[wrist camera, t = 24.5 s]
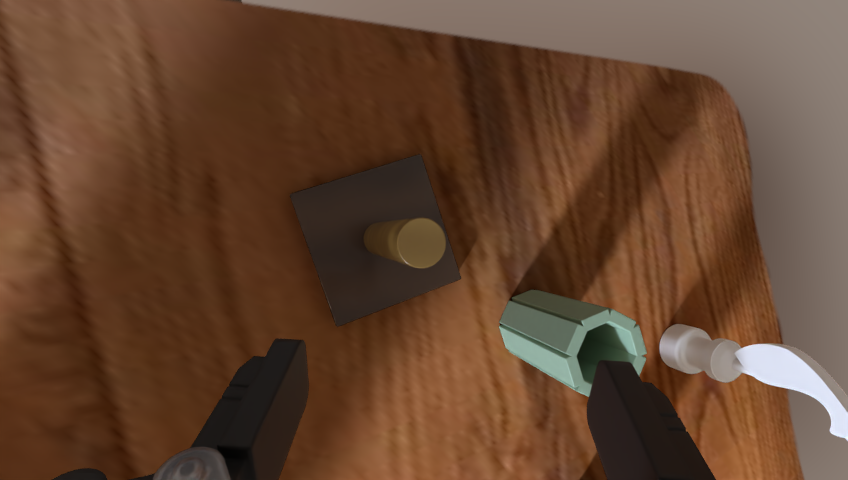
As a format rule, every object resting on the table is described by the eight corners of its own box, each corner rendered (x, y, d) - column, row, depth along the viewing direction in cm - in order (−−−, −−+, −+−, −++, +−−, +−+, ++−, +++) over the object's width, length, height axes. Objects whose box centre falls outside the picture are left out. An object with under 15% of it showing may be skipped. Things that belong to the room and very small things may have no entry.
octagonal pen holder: (492, 305, 38) (557, 331, 28) (550, 281, 39) (631, 298, 29) (511, 368, 38) (582, 414, 28) (568, 342, 39) (654, 379, 30)
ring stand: (289, 195, 33) (280, 171, 20) (416, 156, 36) (484, 111, 22) (335, 323, 34) (355, 382, 21) (455, 277, 37) (543, 304, 23)
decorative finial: (660, 321, 42) (1150, 446, 18) (697, 319, 43) (1207, 436, 19) (658, 385, 42) (1143, 596, 18) (695, 382, 43) (1200, 578, 19)
